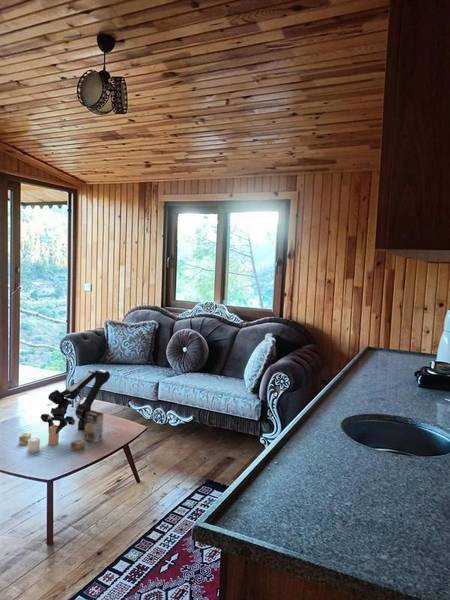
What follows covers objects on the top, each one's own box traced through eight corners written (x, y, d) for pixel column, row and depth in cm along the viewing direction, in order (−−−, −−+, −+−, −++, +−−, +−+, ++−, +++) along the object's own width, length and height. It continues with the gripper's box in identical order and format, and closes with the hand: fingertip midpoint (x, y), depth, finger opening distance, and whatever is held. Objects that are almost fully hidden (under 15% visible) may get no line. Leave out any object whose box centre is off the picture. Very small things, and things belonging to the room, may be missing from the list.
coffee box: (83, 439, 264) (84, 412, 262) (90, 435, 270) (91, 410, 268) (95, 442, 260) (96, 416, 259) (102, 439, 266) (103, 413, 264)
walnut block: (84, 448, 251) (84, 441, 251) (77, 452, 247) (78, 444, 247) (77, 446, 254) (77, 439, 253) (70, 450, 249) (71, 442, 249)
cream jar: (41, 448, 248) (41, 438, 247) (36, 453, 242) (36, 442, 241) (31, 447, 248) (31, 437, 248) (25, 452, 242) (25, 441, 242)
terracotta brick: (58, 442, 257) (59, 424, 256) (55, 445, 253) (55, 426, 252) (51, 441, 258) (52, 423, 257) (48, 444, 254) (49, 426, 253)
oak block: (30, 440, 258) (30, 433, 257) (28, 444, 253) (28, 436, 252) (21, 440, 257) (21, 433, 256) (18, 444, 252) (19, 436, 252)
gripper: (42, 400, 258) (32, 425, 248) (73, 403, 257) (64, 428, 247) (48, 409, 267) (38, 433, 257) (78, 411, 265) (70, 437, 255)
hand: (52, 433), depth 254 cm, fingers closed on terracotta brick, 4 cm apart
